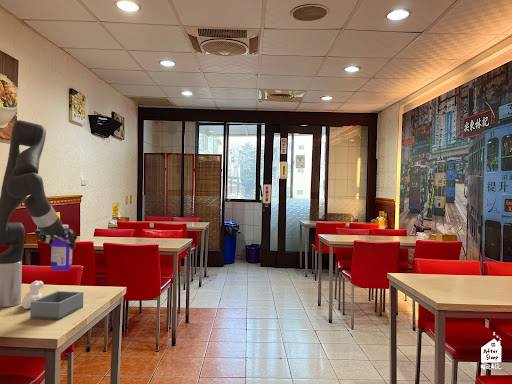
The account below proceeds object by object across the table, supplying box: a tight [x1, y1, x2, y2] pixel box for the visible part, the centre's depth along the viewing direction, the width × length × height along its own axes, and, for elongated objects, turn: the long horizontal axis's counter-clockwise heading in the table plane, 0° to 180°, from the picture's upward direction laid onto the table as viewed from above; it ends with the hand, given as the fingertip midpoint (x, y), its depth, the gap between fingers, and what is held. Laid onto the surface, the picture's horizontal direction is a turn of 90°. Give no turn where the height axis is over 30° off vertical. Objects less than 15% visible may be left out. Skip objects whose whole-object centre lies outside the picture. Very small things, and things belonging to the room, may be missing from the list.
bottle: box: [50, 224, 73, 272], centre depth 145 cm, size 7×6×17 cm
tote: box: [29, 290, 84, 321], centre depth 144 cm, size 11×16×6 cm
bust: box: [21, 280, 45, 310], centre depth 151 cm, size 12×8×11 cm
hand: (64, 247), depth 147 cm, fingers closed on bottle, 7 cm apart
